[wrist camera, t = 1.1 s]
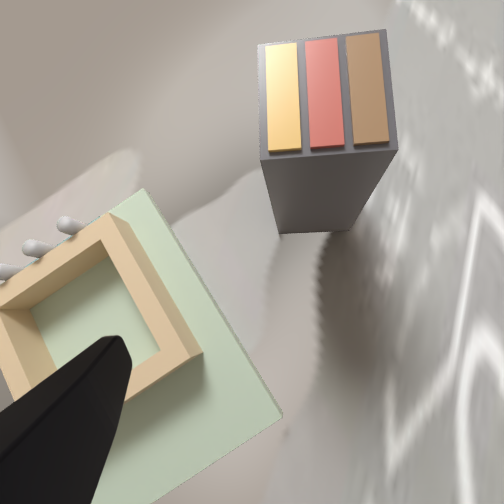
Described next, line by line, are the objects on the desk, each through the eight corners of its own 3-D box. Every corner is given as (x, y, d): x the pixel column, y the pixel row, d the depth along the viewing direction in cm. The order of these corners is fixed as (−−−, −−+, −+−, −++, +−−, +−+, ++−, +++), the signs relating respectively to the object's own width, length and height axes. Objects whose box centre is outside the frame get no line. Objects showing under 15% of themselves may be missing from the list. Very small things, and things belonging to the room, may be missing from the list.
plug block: (349, 230, 22) (399, 147, 11) (278, 233, 22) (259, 158, 11) (344, 164, 22) (387, 25, 12) (276, 169, 23) (257, 41, 12)
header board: (283, 412, 20) (279, 436, 16) (90, 539, 20) (41, 592, 17) (149, 193, 24) (120, 169, 20) (-12, 302, 24) (-72, 300, 20)
